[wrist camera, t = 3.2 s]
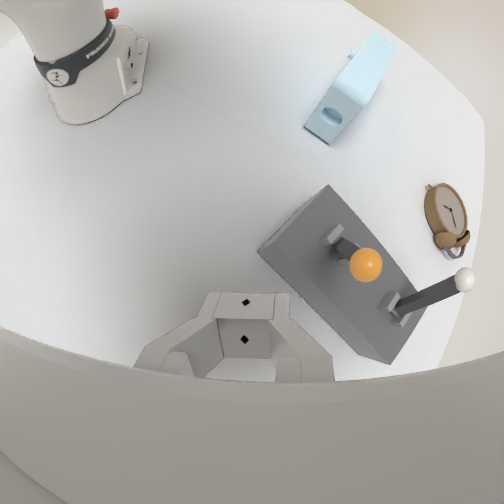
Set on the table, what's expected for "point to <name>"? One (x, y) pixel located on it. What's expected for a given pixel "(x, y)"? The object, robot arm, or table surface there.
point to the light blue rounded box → (352, 88)
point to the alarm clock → (447, 218)
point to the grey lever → (436, 292)
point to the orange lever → (360, 260)
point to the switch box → (342, 277)
